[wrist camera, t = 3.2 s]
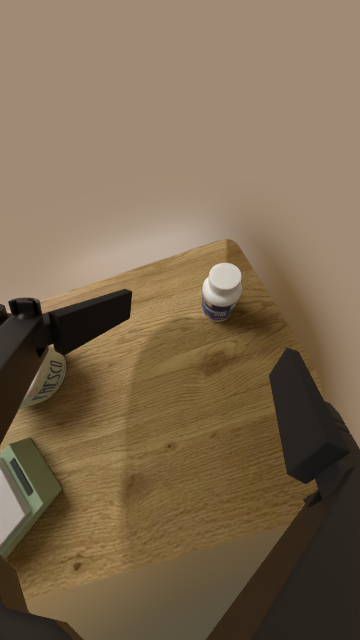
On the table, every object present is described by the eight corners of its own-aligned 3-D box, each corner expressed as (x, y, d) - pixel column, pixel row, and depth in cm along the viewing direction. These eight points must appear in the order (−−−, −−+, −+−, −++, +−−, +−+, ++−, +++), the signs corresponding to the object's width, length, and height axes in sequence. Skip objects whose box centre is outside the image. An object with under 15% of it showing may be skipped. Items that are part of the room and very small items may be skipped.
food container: (20, 341, 31) (-23, 331, 25) (80, 338, 30) (50, 327, 24) (-4, 414, 26) (-64, 423, 20) (65, 413, 25) (23, 423, 19)
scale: (62, 488, 22) (37, 508, 19) (5, 559, 20) (-36, 597, 17) (29, 437, 25) (2, 446, 21) (-24, 495, 23) (-64, 516, 19)
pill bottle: (196, 314, 29) (195, 283, 20) (210, 291, 31) (215, 252, 22) (223, 328, 28) (236, 301, 19) (237, 303, 29) (254, 267, 20)
